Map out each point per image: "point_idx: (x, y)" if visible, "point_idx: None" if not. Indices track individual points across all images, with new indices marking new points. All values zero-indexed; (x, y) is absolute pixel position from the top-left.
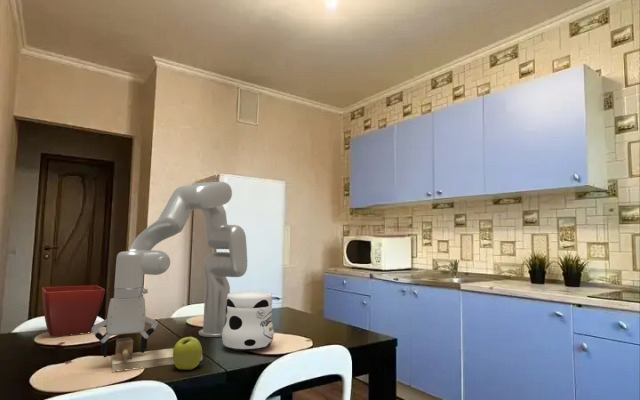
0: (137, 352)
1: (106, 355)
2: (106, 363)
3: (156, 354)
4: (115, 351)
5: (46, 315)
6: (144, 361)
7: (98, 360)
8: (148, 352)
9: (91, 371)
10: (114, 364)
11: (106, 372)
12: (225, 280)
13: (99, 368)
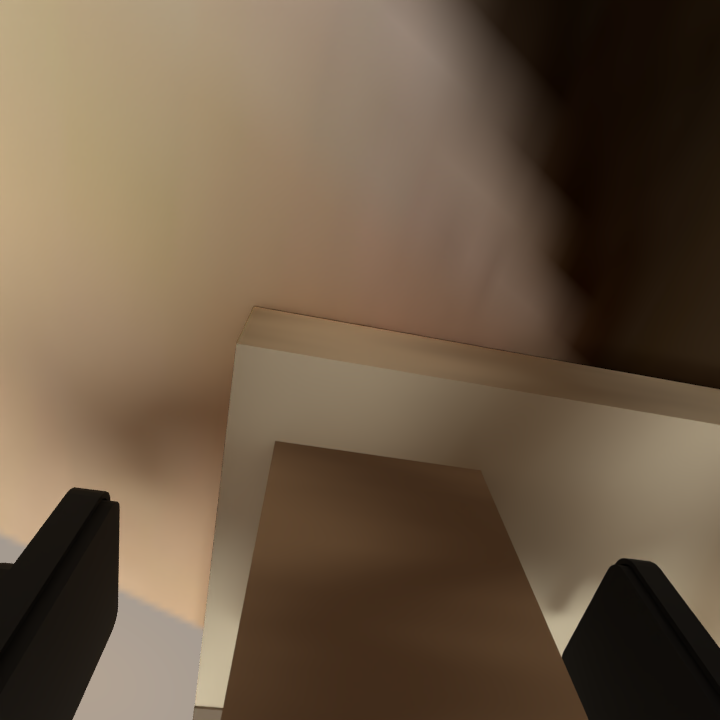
0: (612, 415)
1: (103, 639)
2: (197, 310)
3: (714, 617)
4: (264, 496)
5: None
6: None
7: (98, 50)
8: (712, 498)
9: (20, 513)
10: (207, 716)
11: (163, 608)
12: None
13: (103, 462)
